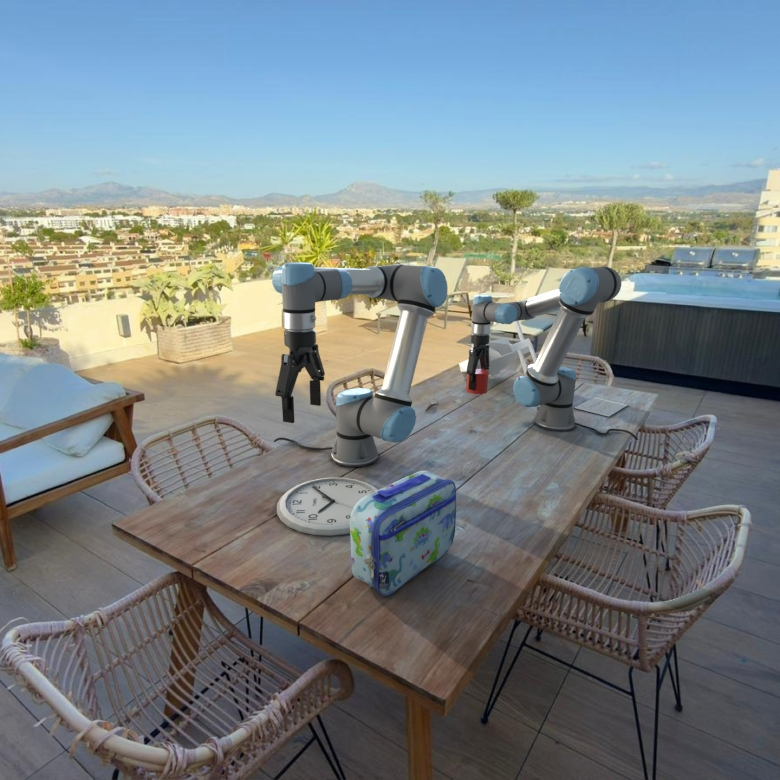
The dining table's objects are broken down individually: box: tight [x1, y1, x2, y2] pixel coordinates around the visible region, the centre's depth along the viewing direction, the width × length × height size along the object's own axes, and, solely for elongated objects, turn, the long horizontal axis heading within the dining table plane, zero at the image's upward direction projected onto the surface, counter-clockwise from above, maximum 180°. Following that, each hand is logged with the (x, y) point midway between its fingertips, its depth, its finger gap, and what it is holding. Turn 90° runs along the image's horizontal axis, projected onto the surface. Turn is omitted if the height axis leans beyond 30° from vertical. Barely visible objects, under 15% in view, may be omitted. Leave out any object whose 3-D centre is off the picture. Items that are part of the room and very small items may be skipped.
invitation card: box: [573, 396, 629, 418], centre depth 226 cm, size 21×1×15 cm
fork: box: [425, 396, 439, 412], centre depth 222 cm, size 3×16×2 cm, turn 160°
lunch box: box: [349, 470, 457, 597], centre depth 114 cm, size 26×11×21 cm, turn 134°
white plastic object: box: [458, 320, 538, 378], centre depth 258 cm, size 37×45×31 cm
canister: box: [466, 369, 490, 395], centre depth 218 cm, size 9×9×9 cm
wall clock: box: [276, 476, 380, 537], centre depth 142 cm, size 30×2×30 cm
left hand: (302, 413), depth 131 cm, fingers open, 13 cm apart
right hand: (477, 387), depth 219 cm, fingers closed on canister, 9 cm apart
